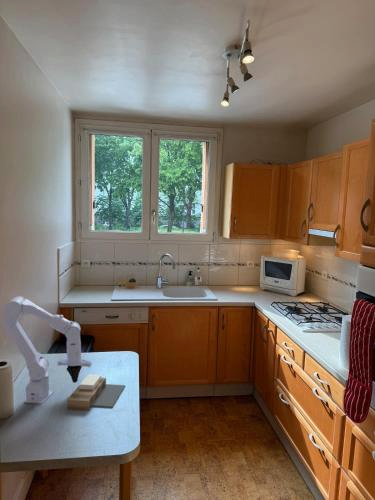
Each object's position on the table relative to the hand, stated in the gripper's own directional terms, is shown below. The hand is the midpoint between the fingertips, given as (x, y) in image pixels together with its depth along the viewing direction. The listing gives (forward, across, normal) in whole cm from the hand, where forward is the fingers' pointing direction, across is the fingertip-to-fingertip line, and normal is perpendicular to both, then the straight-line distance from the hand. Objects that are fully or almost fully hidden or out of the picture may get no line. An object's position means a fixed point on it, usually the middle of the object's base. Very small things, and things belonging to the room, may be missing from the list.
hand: (75, 381), depth 148 cm
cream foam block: (0, -7, 0) cm, 7 cm away
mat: (+5, -16, +2) cm, 17 cm away
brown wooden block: (+5, -7, +4) cm, 9 cm away
